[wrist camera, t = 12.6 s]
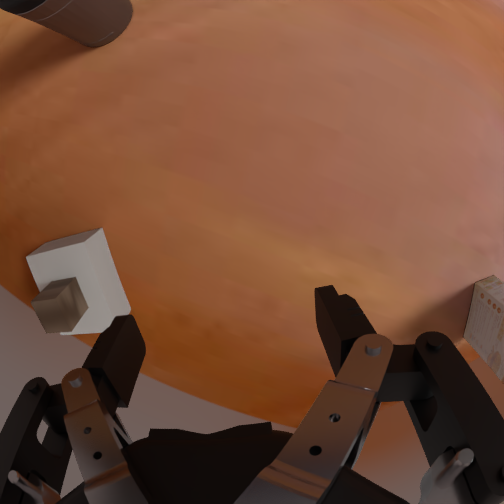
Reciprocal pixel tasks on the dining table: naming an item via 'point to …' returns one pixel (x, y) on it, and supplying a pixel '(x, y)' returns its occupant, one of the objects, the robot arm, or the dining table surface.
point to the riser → (83, 276)
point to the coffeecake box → (488, 323)
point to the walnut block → (60, 305)
